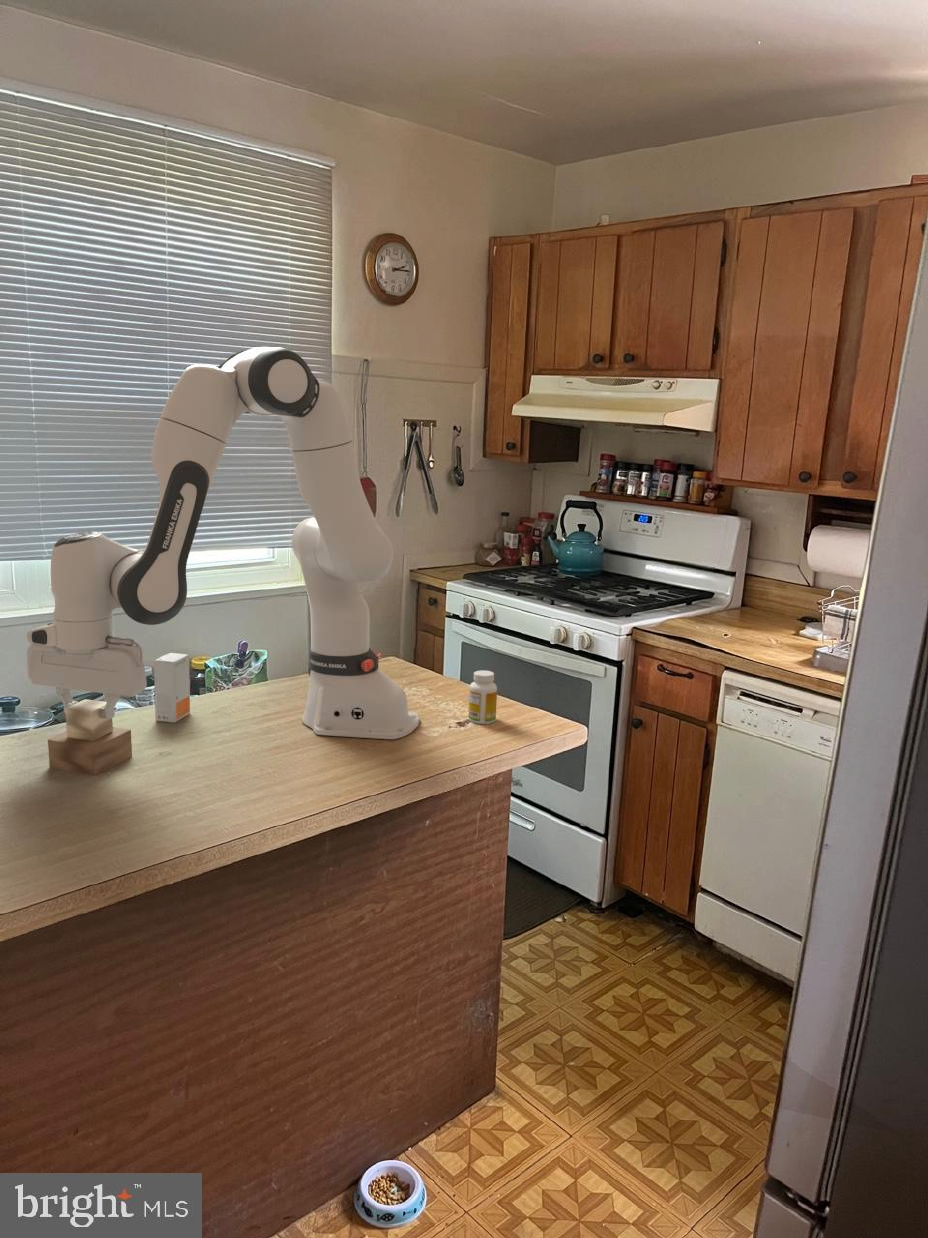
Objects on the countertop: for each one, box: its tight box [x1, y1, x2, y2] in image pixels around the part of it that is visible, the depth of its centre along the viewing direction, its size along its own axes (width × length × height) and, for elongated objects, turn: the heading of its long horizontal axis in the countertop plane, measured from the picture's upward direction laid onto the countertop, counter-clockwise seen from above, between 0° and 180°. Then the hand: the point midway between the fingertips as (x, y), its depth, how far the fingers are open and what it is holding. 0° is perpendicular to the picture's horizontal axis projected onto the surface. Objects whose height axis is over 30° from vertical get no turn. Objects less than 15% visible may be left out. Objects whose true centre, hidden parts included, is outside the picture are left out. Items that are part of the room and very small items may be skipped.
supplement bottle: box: [468, 670, 498, 725], centre depth 175 cm, size 5×5×10 cm
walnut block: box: [47, 726, 133, 777], centre depth 148 cm, size 9×9×5 cm
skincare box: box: [153, 652, 191, 723], centre depth 170 cm, size 6×4×12 cm
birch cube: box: [64, 698, 114, 741], centre depth 147 cm, size 5×5×5 cm
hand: (89, 715), depth 147 cm, fingers open, 5 cm apart
